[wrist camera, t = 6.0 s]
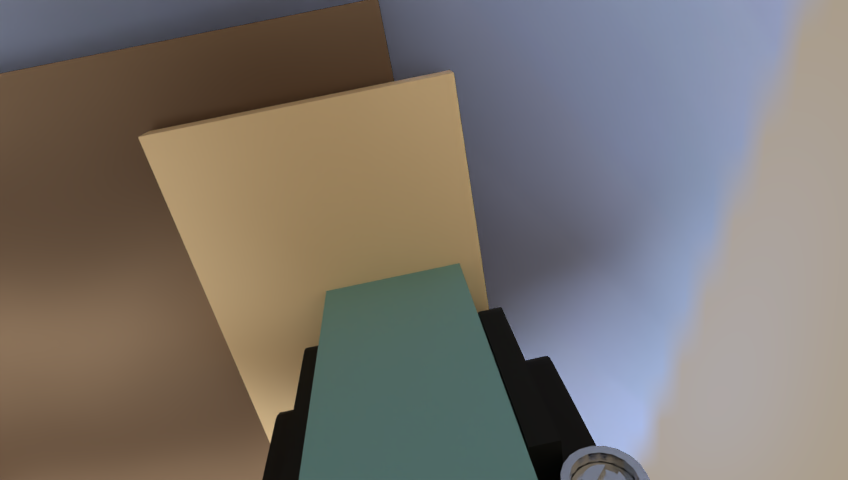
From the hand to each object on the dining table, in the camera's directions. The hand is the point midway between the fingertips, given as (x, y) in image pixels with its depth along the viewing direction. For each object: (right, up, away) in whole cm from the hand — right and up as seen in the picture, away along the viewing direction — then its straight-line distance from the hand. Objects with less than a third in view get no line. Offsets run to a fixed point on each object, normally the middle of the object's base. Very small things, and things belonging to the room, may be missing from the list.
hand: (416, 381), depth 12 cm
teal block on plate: (-1, 0, +1) cm, 1 cm away
